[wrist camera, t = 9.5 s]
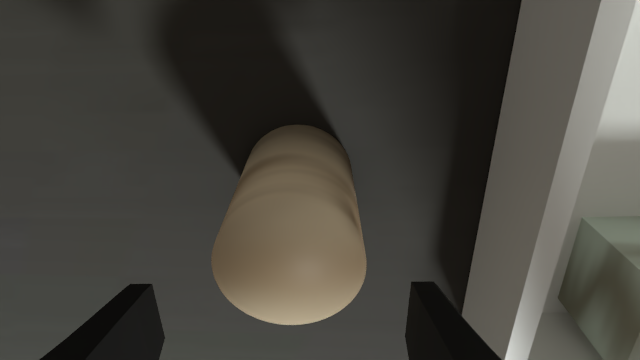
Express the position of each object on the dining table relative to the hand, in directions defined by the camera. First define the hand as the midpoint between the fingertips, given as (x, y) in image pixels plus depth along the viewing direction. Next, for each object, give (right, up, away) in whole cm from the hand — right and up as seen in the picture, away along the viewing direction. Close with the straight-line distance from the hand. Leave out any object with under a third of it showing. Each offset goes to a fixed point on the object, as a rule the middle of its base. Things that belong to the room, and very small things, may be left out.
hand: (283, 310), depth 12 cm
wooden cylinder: (0, +4, +8) cm, 9 cm away
